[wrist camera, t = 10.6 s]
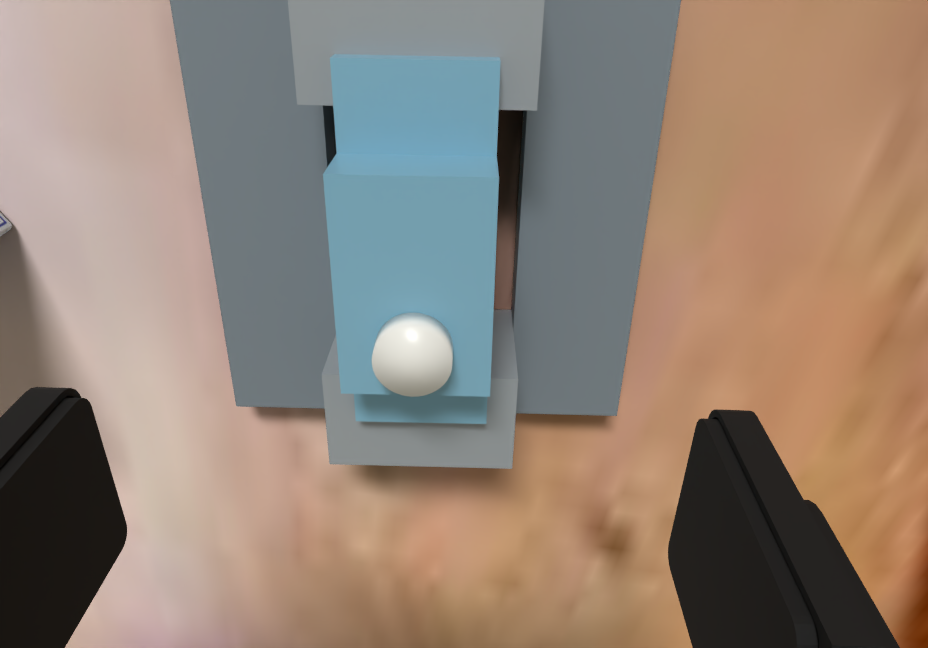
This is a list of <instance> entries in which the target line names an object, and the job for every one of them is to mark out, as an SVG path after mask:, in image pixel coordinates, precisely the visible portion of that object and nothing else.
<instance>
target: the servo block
mask: <svg viewBox="0 0 928 648" xmlns="http://www.w3.org/2000/svg"><path fill="white" fill-rule="evenodd" d="M500 62H501V61H500V57H454V56H402V55H349V54H334V55H333V56H331V57H330V67H331V81H332V95H333V109H334V123H335V137H336V151H337V154H336V155H335V157H334V158H333V160H332V161H331V163H330V164H329V166H328V167H327V169H326V170H325V172H324V173H323V181H324V194H325V206H326V218H327V230H328V242H329V255H330V267H331V279H332V291H333V303H334V316H335V328H336V340H337V352H338V364H339V377H340V389H341V394H354V404H355V418H356V421H365V422H412V423H460V424H486V420H487V397H490V385H491V361H492V336H493V312H494V288H495V264H496V239H497V215H498V191H499V173H498V163H497V138H498V113H499V87H500Z"/></svg>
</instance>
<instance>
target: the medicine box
mask: <svg viewBox="0 0 928 648" xmlns="http://www.w3.org/2000/svg"><path fill="white" fill-rule="evenodd" d="M11 228H12V224H11V223H10V222H9V221H8V220H7V219H6V218H5V217H4V215H3V214H2V213H1V212H0V236H2V235H3V234H5V233H6V232H8V231H9V230H10V229H11Z"/></svg>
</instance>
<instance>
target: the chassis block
mask: <svg viewBox="0 0 928 648" xmlns="http://www.w3.org/2000/svg"><path fill="white" fill-rule="evenodd" d="M680 3H681V0H170V4H171V10H172V17H173V23H174V29H175V35H176V41H177V47H178V53H179V59H180V65H181V71H182V78H183V84H184V90H185V96H186V102H187V108H188V114H189V120H190V126H191V132H192V139H193V145H194V151H195V157H196V163H197V169H198V175H199V181H200V187H201V193H202V199H203V206H204V212H205V218H206V224H207V230H208V236H209V242H210V248H211V254H212V260H213V267H214V273H215V279H216V285H217V291H218V297H219V303H220V309H221V315H222V321H223V328H224V334H225V340H226V346H227V352H228V358H229V364H230V370H231V376H232V382H233V389H234V395H235V401H236V406H246V407H286V408H325V418H326V429H327V440H328V451H329V462H330V464H345V465H385V466H424V467H464V468H504V469H512V462H513V448H514V433H515V419H516V413H525V414H565V415H605V416H617V411H618V405H619V398H620V392H621V385H622V379H623V372H624V366H625V359H626V353H627V346H628V340H629V333H630V327H631V320H632V314H633V307H634V301H635V295H636V288H637V282H638V275H639V269H640V262H641V256H642V249H643V243H644V236H645V230H646V223H647V217H648V210H649V204H650V198H651V191H652V185H653V178H654V172H655V165H656V159H657V152H658V146H659V139H660V133H661V126H662V120H663V113H664V107H665V100H666V94H667V88H668V81H669V75H670V68H671V62H672V55H673V49H674V42H675V36H676V29H677V23H678V16H679V10H680ZM334 54H349V55H402V56H454V57H500V61H501V62H500V87H499V110H523V124H522V140H521V157H520V173H519V190H518V206H517V223H516V239H515V256H514V273H513V289H512V306H511V310H497V309H494V312H493V336H492V361H491V385H490V397H487V420H486V424H460V423H412V422H365V421H356V418H355V404H354V394H341V389H340V377H339V364H338V352H337V340H336V328H335V316H334V303H333V291H332V279H331V267H330V255H329V242H328V230H327V218H326V206H325V194H324V181H323V173H324V172H325V170H326V169H327V167H328V166H329V164H330V163H331V161H332V160H333V158H334V157H335V155H336V150H335V135H334V120H333V95H332V81H331V67H330V57H331V56H333V55H334Z"/></svg>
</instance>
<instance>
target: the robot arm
mask: <svg viewBox="0 0 928 648" xmlns="http://www.w3.org/2000/svg"><path fill="white" fill-rule="evenodd" d="M126 536H127V525H126V521H125V517H124V514H123V511H122V507H121V504H120V500H119V497H118V494H117V490H116V487H115V484H114V480H113V477H112V474H111V470H110V467H109V463H108V460H107V457H106V453H105V450H104V447H103V443H102V440H101V437H100V433H99V430H98V426H97V423H96V420H95V416H94V413H93V410H92V406H91V404H90V402H89V401H88V400H87V399H85V398H81V397H80V394H79V393H78V392H77V391H76V390H74V389H71V388H46V387H35V388H31V389H29V390H28V391H27V392H25V393H24V394H23V395H22V396H21V397H20V398H19V399H18V400H17V401H16V402H15V403H14V404H13V405H12V406H11V407H10V408H9V409H8V410H7V411H6V413H5V414H4V415H3V416H2V417H1V418H0V648H65V646H66V644H67V643H68V641H69V639H70V638H71V636H72V634H73V632H74V631H75V629H76V627H77V626H78V624H79V622H80V620H81V619H82V617H83V615H84V614H85V612H86V610H87V609H88V607H89V605H90V603H91V602H92V600H93V598H94V597H95V595H96V593H97V592H98V590H99V588H100V586H101V585H102V583H103V581H104V580H105V578H106V576H107V574H108V573H109V571H110V569H111V568H112V566H113V564H114V563H115V561H116V559H117V557H118V556H119V554H120V552H121V551H122V549H123V547H124V544H125V541H126ZM668 559H669V566H670V570H671V574H672V577H673V581H674V584H675V588H676V591H677V594H678V598H679V601H680V605H681V608H682V612H683V615H684V619H685V622H686V626H687V629H688V633H689V636H690V640H691V643H692V646H693V648H900V647H899V646H898V644H897V642H896V640H895V639H894V637H893V635H892V633H891V632H890V630H889V628H888V626H887V625H886V623H885V621H884V619H883V618H882V616H881V614H880V613H879V611H878V609H877V607H876V606H875V604H874V602H873V600H872V599H871V597H870V595H869V593H868V592H867V590H866V588H865V587H864V585H863V583H862V581H861V580H860V578H859V576H858V574H857V573H856V571H855V569H854V567H853V566H852V564H851V562H850V561H849V559H848V557H847V555H846V554H845V552H844V550H843V548H842V547H841V545H840V543H839V541H838V540H837V538H836V536H835V535H834V533H833V531H832V529H831V528H830V526H829V524H828V522H827V521H826V519H825V517H824V515H823V514H822V512H821V511H820V509H819V508H818V507H817V506H816V504H814V503H813V502H811V501H809V500H803V498H802V496H801V495H800V493H799V491H798V489H797V487H796V486H795V484H794V482H793V480H792V478H791V477H790V475H789V473H788V471H787V469H786V468H785V466H784V464H783V462H782V460H781V459H780V457H779V455H778V453H777V451H776V450H775V448H774V446H773V444H772V442H771V441H770V439H769V437H768V435H767V434H766V432H765V430H764V428H763V426H762V425H761V423H760V421H759V419H758V417H757V416H756V415H755V413H754V412H752V411H742V410H713V411H712V412H711V413H710V415H709V418H708V419H699V421H698V422H697V425H696V428H695V433H694V437H693V441H692V446H691V450H690V454H689V459H688V463H687V467H686V472H685V476H684V480H683V485H682V489H681V493H680V498H679V502H678V506H677V511H676V515H675V519H674V524H673V528H672V532H671V536H670V541H669V547H668Z"/></svg>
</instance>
